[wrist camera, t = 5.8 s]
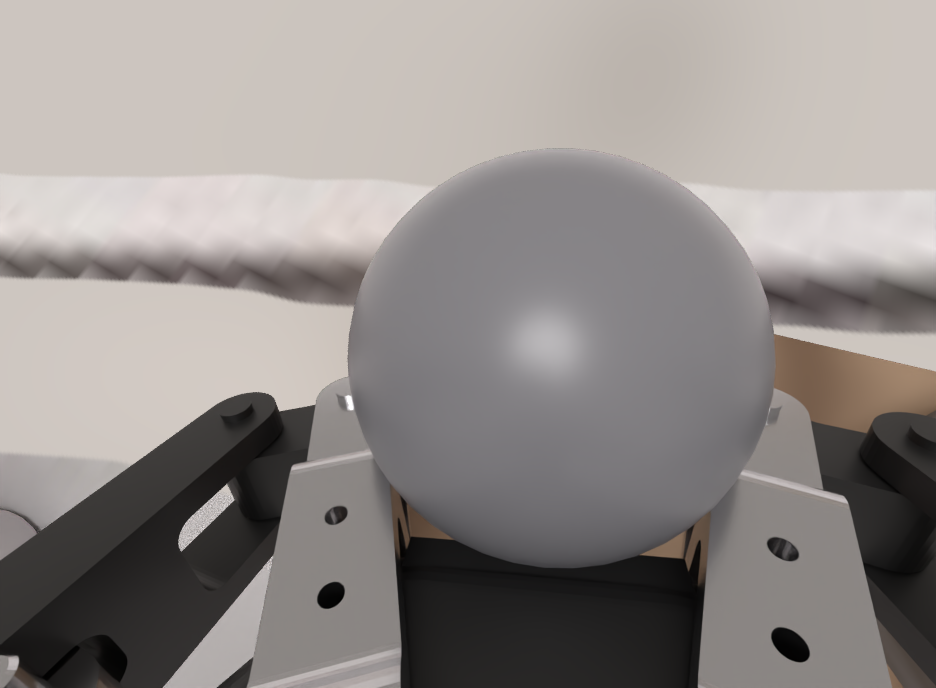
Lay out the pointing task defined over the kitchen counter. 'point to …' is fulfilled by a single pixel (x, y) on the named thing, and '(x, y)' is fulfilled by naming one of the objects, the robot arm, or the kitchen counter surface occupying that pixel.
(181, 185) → the kitchen counter surface
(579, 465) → the round-topped orange cylinder
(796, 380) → the jig
